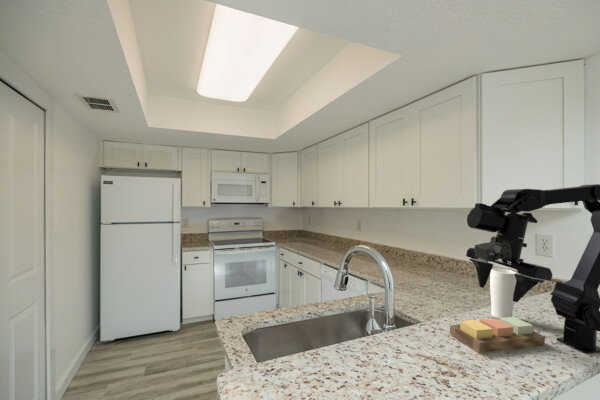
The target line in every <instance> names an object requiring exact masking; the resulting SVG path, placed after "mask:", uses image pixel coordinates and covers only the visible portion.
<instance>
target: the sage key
mask: <svg viewBox="0 0 600 400" xmlns="http://www.w3.org/2000/svg"><path fill="white" fill-rule="evenodd" d="M499 320H500V321H502V322H504V323H506V324H508V325H510V326H512V327H513V333H515V334H517V335H523V334H533V331H534V325H533V324H531V323H528V322H526V321H524V320H522V319H520V318H517V317H515V316H512V317H505V318H500V319H499Z"/></svg>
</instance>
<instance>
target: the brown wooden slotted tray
mask: <svg viewBox="0 0 600 400" xmlns="http://www.w3.org/2000/svg"><path fill="white" fill-rule="evenodd" d="M449 335H450V336H452V337H453V338H455V339H457V340H458V341H459V342H461V344H464V345H466V346H467V347H468V348H470V349H471V350H472V351H474V352H476V353H477V354H486V353H494V352H495V353H496V352H504V351H512V350H521V349H531V347H532V348H537V347H544V346H545V341H546V336H545V335H543V334H541V333H538V332H536V331H535V330H533V334H523V335H517V334H515V333H513V336H503V337H497V336H495V335H493V338H483V339H475V338H474V337H472V336H471V335H469V334H467V333H466V332H464V331H462V330H461V329H460V324H451V325H449Z"/></svg>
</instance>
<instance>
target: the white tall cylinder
mask: <svg viewBox="0 0 600 400" xmlns="http://www.w3.org/2000/svg"><path fill="white" fill-rule="evenodd" d="M514 274H518V273H517V272H516V271H513V270H511V269H506V268H499V267H498V268H497V267H494V268H493V267H492V270H491V272H490V275H489V290H490V314H491V316H492V317H493V318H496V319H498V320H500V318H505V317H513V310H514V305H515V302H514V301H513V294H514V289H515V285H516V278H515V275H514Z"/></svg>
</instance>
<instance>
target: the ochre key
mask: <svg viewBox="0 0 600 400" xmlns="http://www.w3.org/2000/svg"><path fill="white" fill-rule="evenodd" d="M460 329H461V330H462V331H464V332H466V333H467V334H469V335H471V336H472V337H474V338H475V339H483V338H493V329H492V328H490V327H489V326H487V325H485V324H483V323H481V322H480V321H479V320H477V319H471V320H470V319H469V320H460Z"/></svg>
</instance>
